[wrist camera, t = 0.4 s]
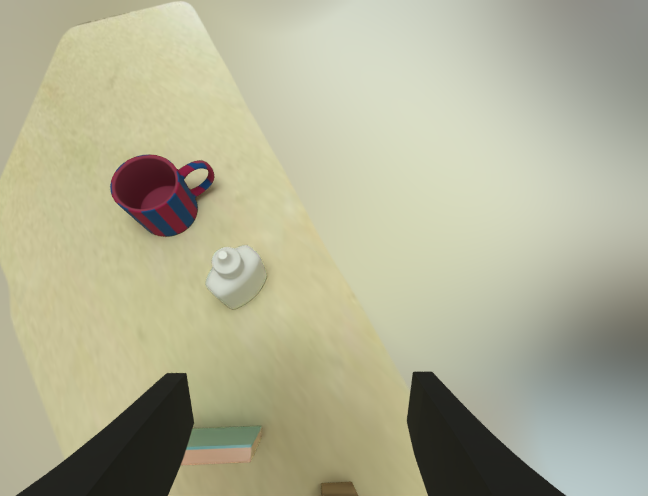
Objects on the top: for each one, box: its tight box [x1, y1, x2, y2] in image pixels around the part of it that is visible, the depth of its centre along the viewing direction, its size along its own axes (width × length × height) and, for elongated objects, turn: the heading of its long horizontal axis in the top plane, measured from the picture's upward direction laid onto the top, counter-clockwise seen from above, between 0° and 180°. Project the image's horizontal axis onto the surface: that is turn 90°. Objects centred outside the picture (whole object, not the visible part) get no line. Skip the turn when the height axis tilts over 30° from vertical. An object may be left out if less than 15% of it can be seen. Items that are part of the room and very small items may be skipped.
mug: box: [110, 155, 214, 236], centre depth 37 cm, size 7×10×7 cm
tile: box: [181, 426, 261, 465], centre depth 29 cm, size 1×7×8 cm, turn 91°
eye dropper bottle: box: [205, 245, 267, 309], centre depth 32 cm, size 4×6×12 cm
